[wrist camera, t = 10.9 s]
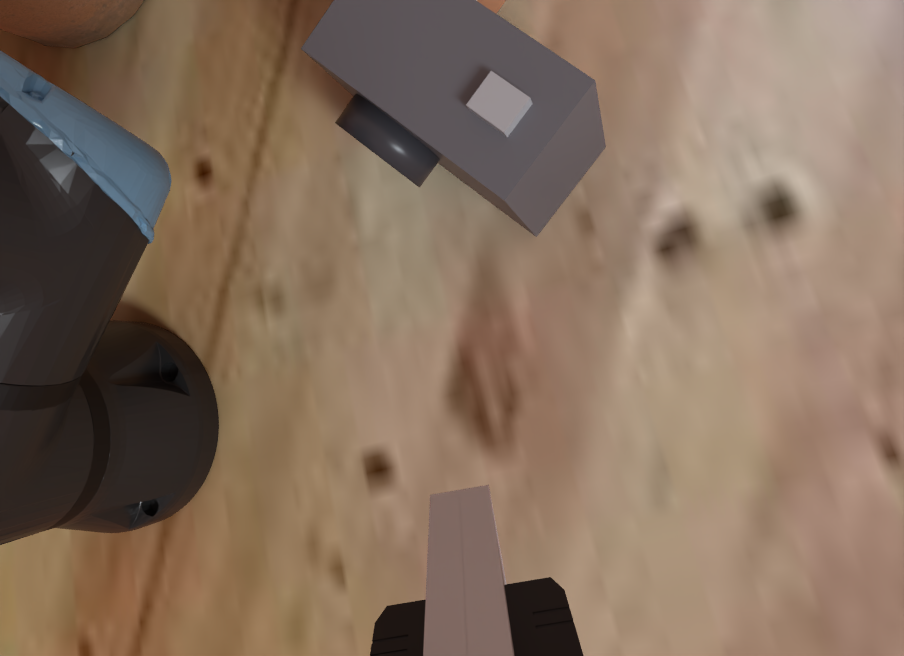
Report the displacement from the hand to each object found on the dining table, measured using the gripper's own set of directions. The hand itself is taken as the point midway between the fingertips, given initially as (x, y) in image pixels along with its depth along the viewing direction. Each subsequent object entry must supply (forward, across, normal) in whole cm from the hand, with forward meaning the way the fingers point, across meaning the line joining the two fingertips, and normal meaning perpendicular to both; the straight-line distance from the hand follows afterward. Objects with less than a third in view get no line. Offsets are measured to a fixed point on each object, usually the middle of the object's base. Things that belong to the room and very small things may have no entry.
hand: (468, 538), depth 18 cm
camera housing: (+31, +3, +11) cm, 33 cm away
